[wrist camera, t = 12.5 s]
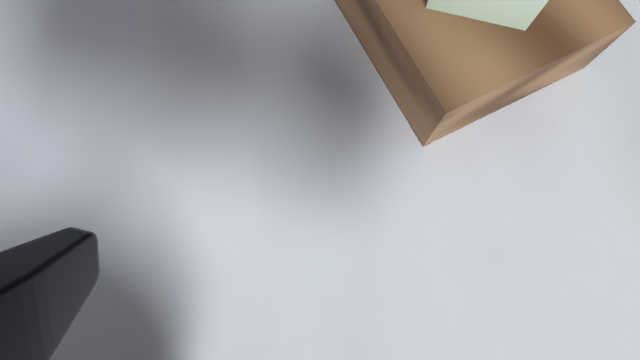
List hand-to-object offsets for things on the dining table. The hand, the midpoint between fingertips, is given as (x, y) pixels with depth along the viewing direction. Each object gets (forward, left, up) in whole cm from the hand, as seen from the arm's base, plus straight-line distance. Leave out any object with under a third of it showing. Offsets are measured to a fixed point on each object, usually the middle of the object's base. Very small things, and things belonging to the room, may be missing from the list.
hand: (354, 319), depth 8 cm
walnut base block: (+13, +10, -14) cm, 21 cm away
